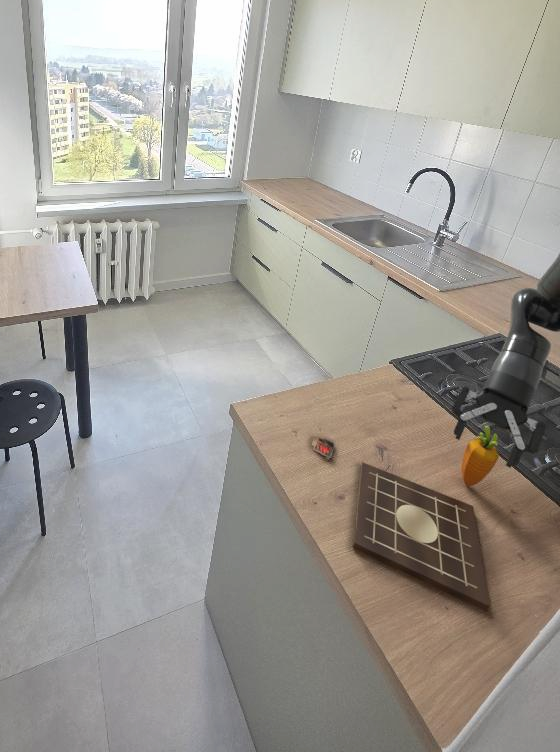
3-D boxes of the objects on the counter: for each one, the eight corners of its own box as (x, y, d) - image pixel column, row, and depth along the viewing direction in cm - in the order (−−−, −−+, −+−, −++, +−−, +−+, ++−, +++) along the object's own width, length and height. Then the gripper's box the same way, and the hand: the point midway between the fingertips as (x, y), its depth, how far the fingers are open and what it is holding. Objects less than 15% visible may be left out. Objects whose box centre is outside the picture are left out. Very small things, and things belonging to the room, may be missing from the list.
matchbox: (333, 442, 94) (334, 440, 93) (333, 461, 89) (334, 459, 89) (312, 436, 95) (312, 434, 95) (311, 454, 91) (311, 452, 90)
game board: (470, 510, 81) (473, 505, 80) (486, 611, 66) (490, 606, 65) (360, 466, 88) (362, 461, 88) (352, 547, 74) (354, 542, 73)
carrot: (480, 501, 82) (507, 447, 76) (451, 486, 85) (475, 433, 79) (481, 483, 86) (508, 430, 80) (454, 469, 89) (477, 417, 83)
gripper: (474, 357, 86) (442, 428, 84) (562, 394, 78) (530, 476, 75) (471, 365, 92) (441, 432, 89) (553, 401, 83) (523, 477, 80)
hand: (482, 452), depth 82 cm, fingers open, 8 cm apart
